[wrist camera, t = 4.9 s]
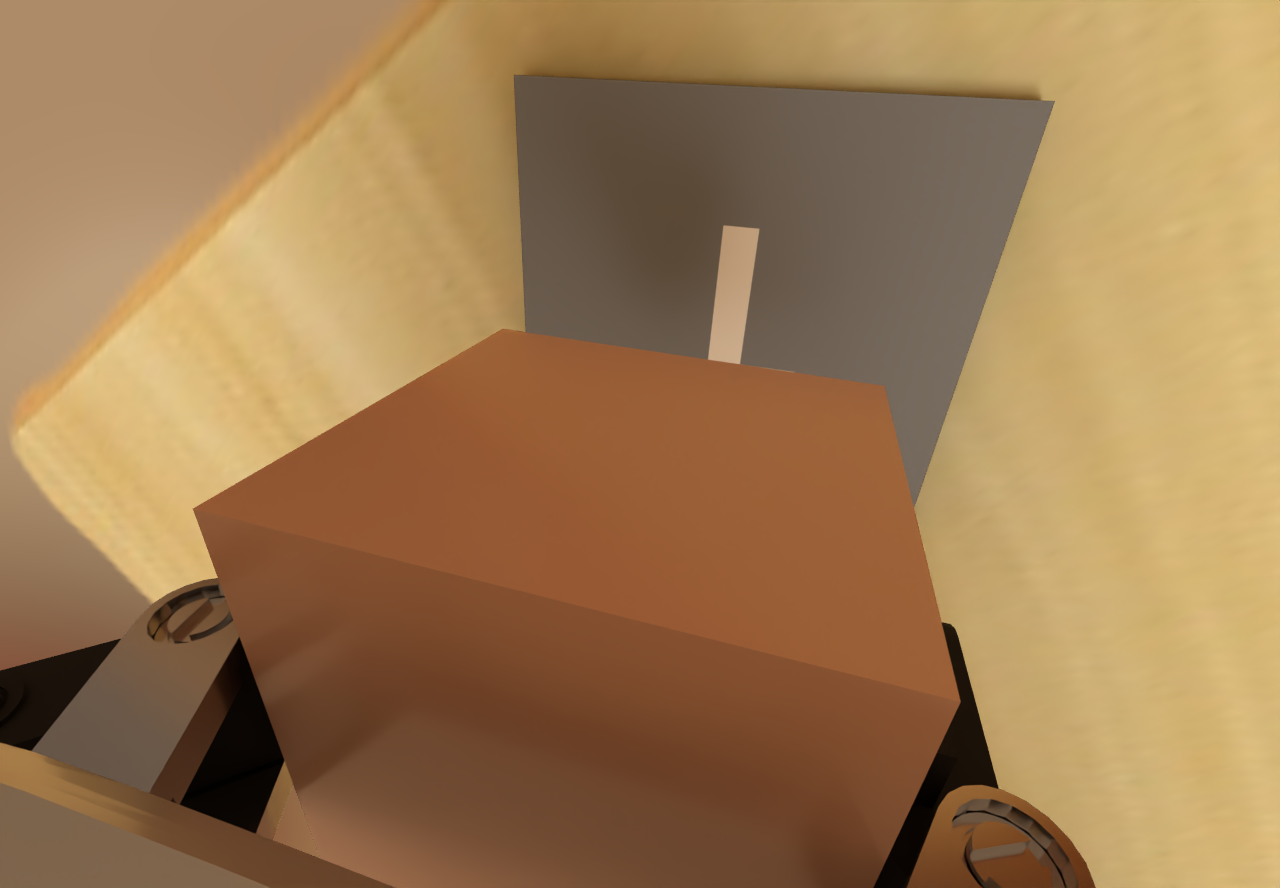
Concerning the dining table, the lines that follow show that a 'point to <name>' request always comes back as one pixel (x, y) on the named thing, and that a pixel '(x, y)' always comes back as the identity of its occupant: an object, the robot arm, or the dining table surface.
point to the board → (773, 227)
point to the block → (595, 624)
